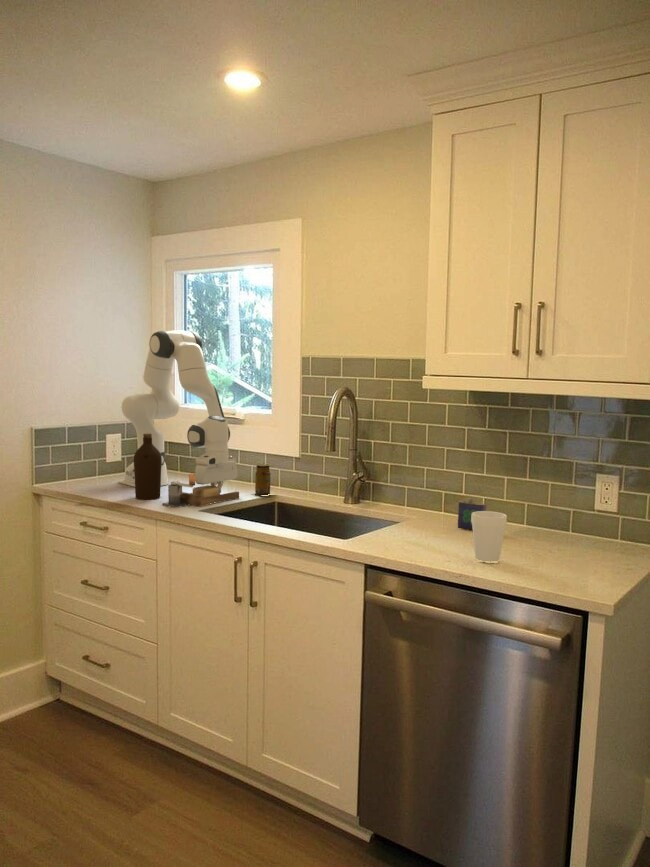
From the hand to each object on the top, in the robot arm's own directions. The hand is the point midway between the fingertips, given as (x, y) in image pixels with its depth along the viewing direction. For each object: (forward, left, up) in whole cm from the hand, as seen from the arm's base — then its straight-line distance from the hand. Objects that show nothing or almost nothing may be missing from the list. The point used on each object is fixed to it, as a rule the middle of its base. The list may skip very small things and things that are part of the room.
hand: (216, 493), depth 284 cm
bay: (0, -4, -2) cm, 5 cm away
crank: (+2, -20, +6) cm, 20 cm away
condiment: (+8, +19, -2) cm, 20 cm away
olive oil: (-21, -16, -2) cm, 27 cm away
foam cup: (+120, -15, -2) cm, 121 cm away
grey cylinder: (-2, -19, -2) cm, 20 cm away
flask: (+100, +17, -2) cm, 101 cm away
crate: (0, -6, -2) cm, 6 cm away
